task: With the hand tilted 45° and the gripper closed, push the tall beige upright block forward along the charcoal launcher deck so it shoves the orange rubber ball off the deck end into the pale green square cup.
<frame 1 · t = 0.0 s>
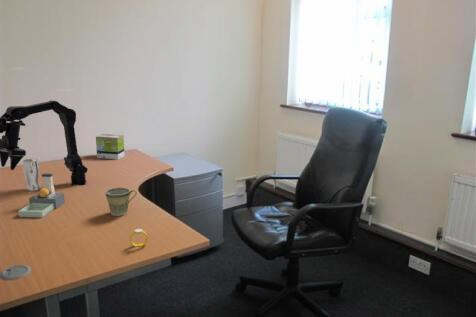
hand: (7, 168, 192), 15 cm above the table, tool pointing down, fingers open, 9 cm apart
ceramic cup: (122, 213, 182), on the table
launcher deck: (46, 206, 189), on the table
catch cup: (37, 212, 181), on the table
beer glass: (33, 189, 212), on the table
watch: (139, 246, 151), on the table
beige upright block: (47, 184, 189), point 9 cm above the table, slide at 0.0 cm
ball: (44, 192, 186), point 6 cm above the table, touching launcher deck
tea box: (111, 157, 277), on the table
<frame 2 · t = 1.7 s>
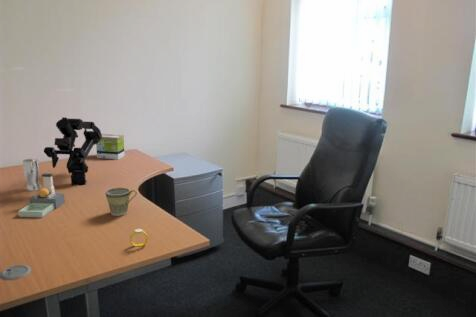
hand: (60, 167, 201), 14 cm above the table, tool tilted 45°, fingers open, 6 cm apart
nothing on the table moved.
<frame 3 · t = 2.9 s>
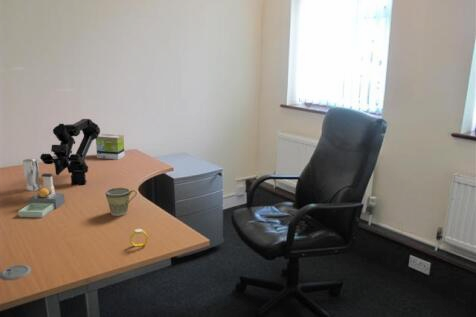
hand: (56, 174, 197), 11 cm above the table, tool tilted 45°, fingers closed
nothing on the table moved.
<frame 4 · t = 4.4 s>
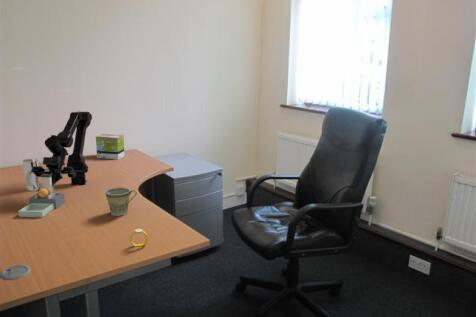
hand: (48, 188, 190), 7 cm above the table, tool tilted 45°, fingers closed, pressing on beige upright block
beige upright block: (46, 184, 188), point 9 cm above the table, slide at 0.9 cm, touching gripper
ball: (43, 193, 186), point 6 cm above the table, tilted 13°, touching launcher deck
everything else where it was.
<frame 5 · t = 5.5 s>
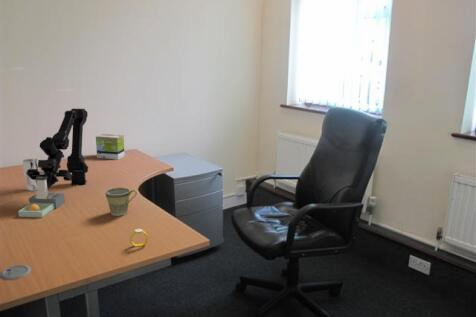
hand: (44, 191, 186), 7 cm above the table, tool tilted 45°, fingers closed
beige upright block: (41, 187, 184), point 9 cm above the table, slide at 5.2 cm
ball: (34, 208, 179), point 2 cm above the table, tilted 75°, touching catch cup
everything else where it was.
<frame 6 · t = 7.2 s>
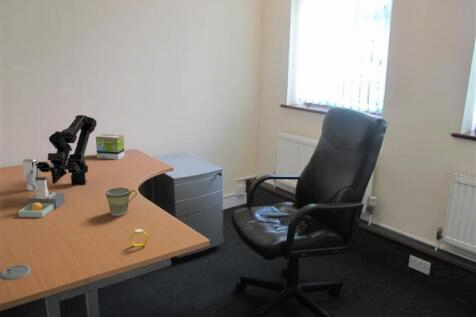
hand: (53, 183, 195), 8 cm above the table, tool tilted 45°, fingers closed
ball: (36, 207, 181), point 2 cm above the table, tilted 136°, touching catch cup
everything else where it was.
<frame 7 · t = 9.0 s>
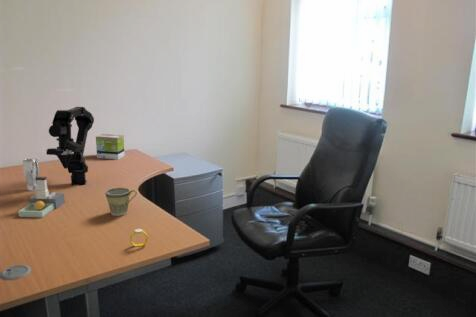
hand: (65, 168, 205), 12 cm above the table, tool pointing down, fingers closed
ball: (39, 205, 183), point 2 cm above the table, tilted 160°, touching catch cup
everything else where it was.
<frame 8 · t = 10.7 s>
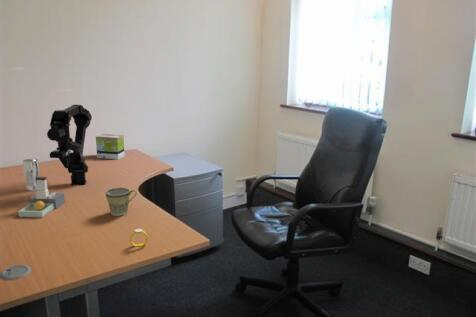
hand: (66, 168, 206), 12 cm above the table, tool pointing down, fingers closed
nothing on the table moved.
at the end: ball inside the target area on the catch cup (2.4 cm from its centre), point 2.4 cm above the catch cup's base; beige upright block slide at 5.2 cm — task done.
